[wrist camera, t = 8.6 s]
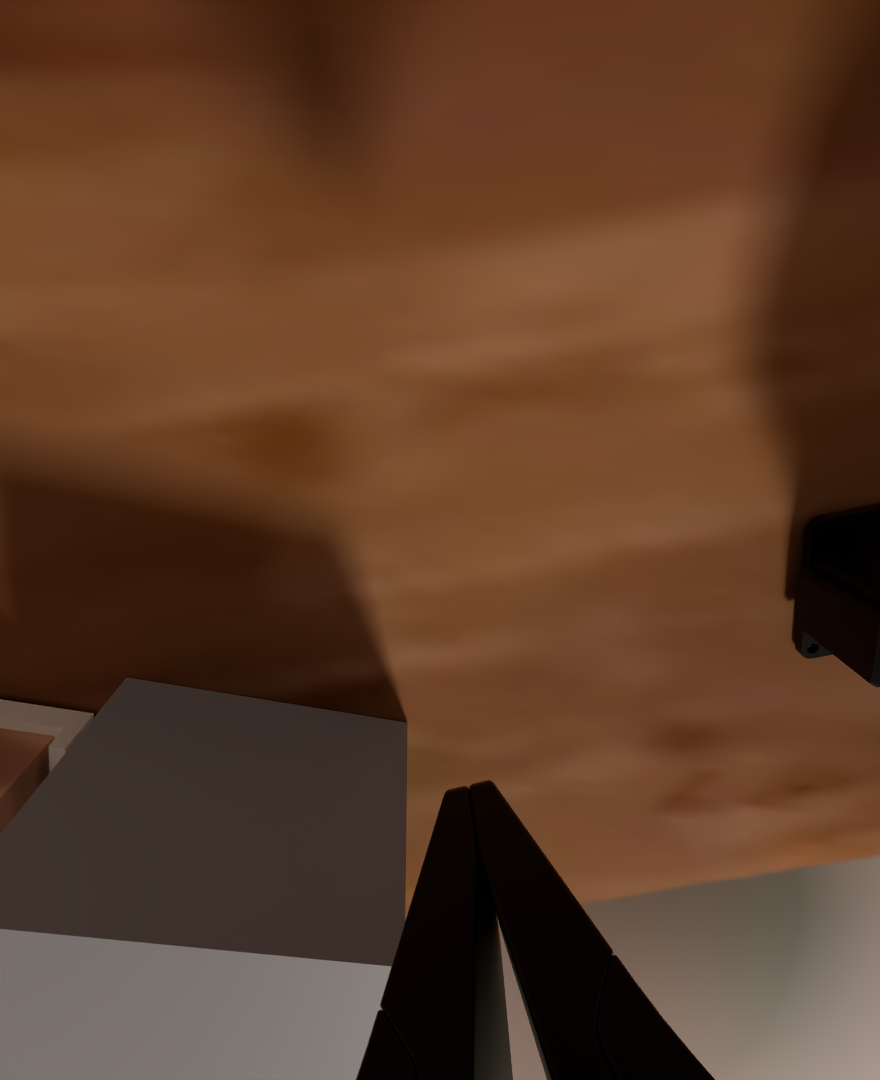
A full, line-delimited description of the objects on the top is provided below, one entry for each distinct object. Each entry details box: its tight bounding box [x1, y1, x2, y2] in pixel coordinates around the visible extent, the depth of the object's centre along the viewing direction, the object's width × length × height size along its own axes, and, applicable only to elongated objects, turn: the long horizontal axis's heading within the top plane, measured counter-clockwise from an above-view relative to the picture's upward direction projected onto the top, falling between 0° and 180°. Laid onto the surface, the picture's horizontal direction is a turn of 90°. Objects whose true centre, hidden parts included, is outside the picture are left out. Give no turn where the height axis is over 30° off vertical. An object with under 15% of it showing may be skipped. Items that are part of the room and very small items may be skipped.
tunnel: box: [0, 677, 407, 1080], centre depth 20 cm, size 12×10×10 cm
